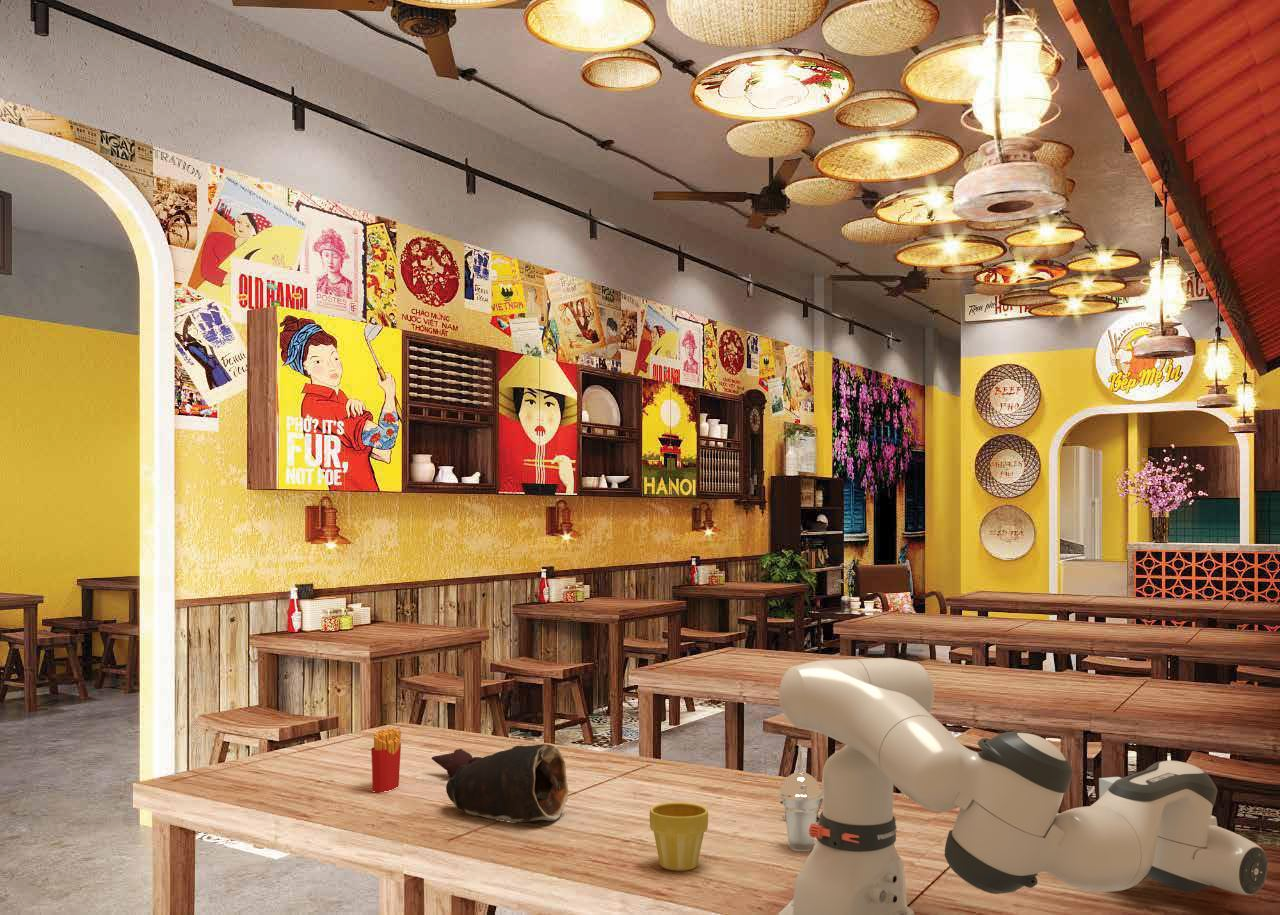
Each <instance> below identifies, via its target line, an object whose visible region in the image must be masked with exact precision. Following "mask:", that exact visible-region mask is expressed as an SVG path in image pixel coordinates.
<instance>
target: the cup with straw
mask: <svg viewBox="0 0 1280 915" xmlns="http://www.w3.org/2000/svg"><path fill="white" fill-rule="evenodd" d="M794 748H795V749H796V750H797V751H798V762H797V763H798V771H796V772H794V773H791V774H789V775H788V776H787V777H786V778H785V779H784V782H783V784H782V786H781V787H780V788H779V789H778V793H777V794H778V796H779V797H780V798H781V799H782V801H783V804H782V805H783V809H784V814H785V816H784V817H785V824H786V833H787V842H788V843H789V844H788V845H789V846H788V848H789V849H790V850H791V851H794V852H800V853H801V852H804V853H806V852H810V851H812V850H813V848H814V843H815V838H816V837H811V836H810V835H809V833H810V832H809V828H810V825H811V824H812V823H813V824H816V825H817V821H818V820H817V817H818V814H817V811H818V808H819V803H820V799H822V788H820V785H819V783H818V782H817V779H815V778H814V776H812V775H811V774H809V773H808V772H803V746H802V744H800V743H799V744H796V745H795V747H794ZM818 812H819V811H818Z"/></svg>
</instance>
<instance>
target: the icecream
mask: <svg viewBox="0 0 1280 915" xmlns="http://www.w3.org/2000/svg"><path fill="white" fill-rule="evenodd" d="M481 758H483V757H482V756H474V757H473V755H472V754H471V753H470V752H467V751H465V750H463V749H462V748H458V749H455V750H454V751H453V752H449V753H444V754H440V755H433V756H432V757H431V760H432V761H434V763H436V764H437V765H438V766H440V767H441V768H443V769H444V770H446V773H447V775H448V777H449V779H450V778H452V777H453V776H454V775H455V774H456V772H457V770H458V769H459V768H460V767H461V766H462V765H468V764H471V763H472V762H474V761H476V760H478V759H481Z"/></svg>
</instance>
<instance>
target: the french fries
mask: <svg viewBox="0 0 1280 915" xmlns="http://www.w3.org/2000/svg"><path fill="white" fill-rule="evenodd" d="M401 735H402V731H401V730H400V729H398V730H397V729H396V728H390V727H389V728H387V729H379V730H378V732H375V733H373V747H371V749H370V750H371V751H370V752H371V754H370V755H371V780H372V781H371V783H372V784H371V785H372V792H373V791H375V792H384V791H389V790H392V789H394V788H396V787H398V786H399V785H400V772H401V771H400V769H401V768H400V767H401V749H402V748H401V747H402V742H401V737H402V736H401ZM399 787H400V786H399ZM394 790H395V789H394ZM392 791H393V790H392ZM375 792H374V793H375Z"/></svg>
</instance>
